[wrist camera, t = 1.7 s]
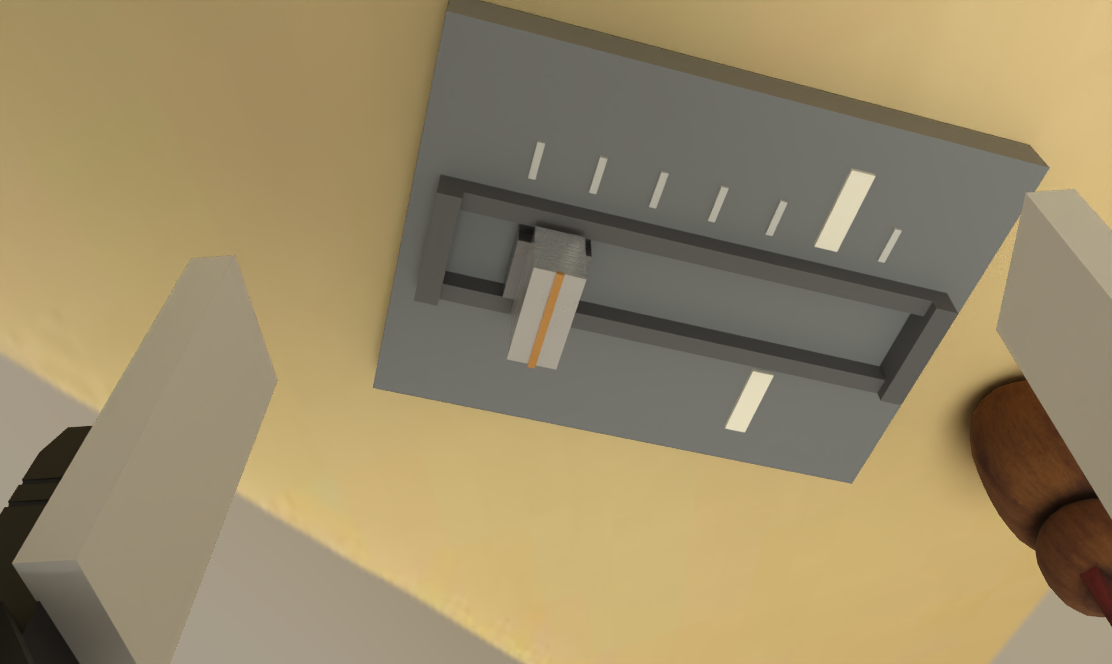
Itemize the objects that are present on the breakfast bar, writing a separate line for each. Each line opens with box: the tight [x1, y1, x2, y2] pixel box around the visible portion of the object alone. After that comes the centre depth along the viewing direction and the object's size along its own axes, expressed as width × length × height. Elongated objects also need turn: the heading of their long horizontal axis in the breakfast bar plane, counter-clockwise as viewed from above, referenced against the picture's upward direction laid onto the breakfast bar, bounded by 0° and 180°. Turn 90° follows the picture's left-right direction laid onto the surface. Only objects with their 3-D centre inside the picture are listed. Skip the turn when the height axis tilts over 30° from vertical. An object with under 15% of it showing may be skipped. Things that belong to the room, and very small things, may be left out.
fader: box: [503, 224, 592, 370], centre depth 38 cm, size 3×4×5 cm, turn 165°
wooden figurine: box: [970, 380, 1112, 626], centre depth 42 cm, size 7×6×15 cm
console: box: [373, 0, 1049, 484], centre depth 41 cm, size 24×18×4 cm
